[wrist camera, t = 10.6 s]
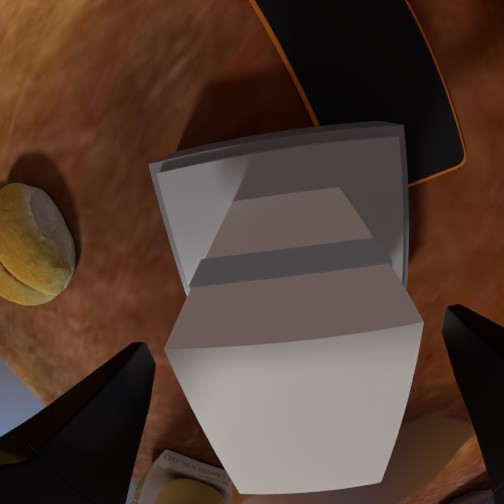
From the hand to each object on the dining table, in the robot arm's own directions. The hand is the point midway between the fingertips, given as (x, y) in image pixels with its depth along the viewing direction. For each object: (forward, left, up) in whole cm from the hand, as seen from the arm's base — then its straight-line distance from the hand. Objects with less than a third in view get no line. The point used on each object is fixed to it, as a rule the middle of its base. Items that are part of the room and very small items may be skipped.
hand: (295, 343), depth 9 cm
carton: (0, 0, -5) cm, 5 cm away
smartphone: (-5, -9, -9) cm, 14 cm away
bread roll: (+17, -2, -9) cm, 20 cm away
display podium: (0, 0, -9) cm, 9 cm away
